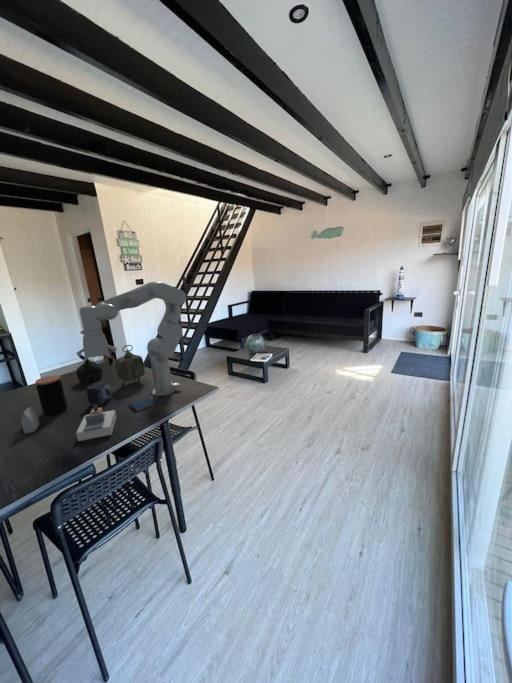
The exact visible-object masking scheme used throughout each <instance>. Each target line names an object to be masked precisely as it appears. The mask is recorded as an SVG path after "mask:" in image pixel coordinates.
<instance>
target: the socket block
mask: <svg viewBox="0 0 512 683" xmlns="http://www.w3.org/2000/svg"><path fill="white" fill-rule="evenodd" d="M103 414H104V419H105V421H104V424H103V427H102V428H101V429H96V430H90V431H85V432H84V431H83V430H84V427H85V425H86V418H85V416H87V415H91V414H90V413H89V414H85V415H84V416H83V419H82V421H81V423H79V424H80V425H79V426H78V428H77V431H76V433H75V434H76V438H77V442H82V441H85V440H86V441H87V440H92V439H96V438H101V437H106V436H112V435H113V431H114V428H115V424H116V420H117V412H116V410H115V409H112V410H107V411H103Z"/></svg>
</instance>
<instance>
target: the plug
mask: <svg viewBox="0 0 512 683" xmlns="http://www.w3.org/2000/svg"><path fill="white" fill-rule="evenodd" d="M92 407H93V408H92V409H91V411H90V413H89V414H91V415H93V414H98V413H103V412H104V411H103V407H101V406H100V407H97V405H95V406H92Z"/></svg>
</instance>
